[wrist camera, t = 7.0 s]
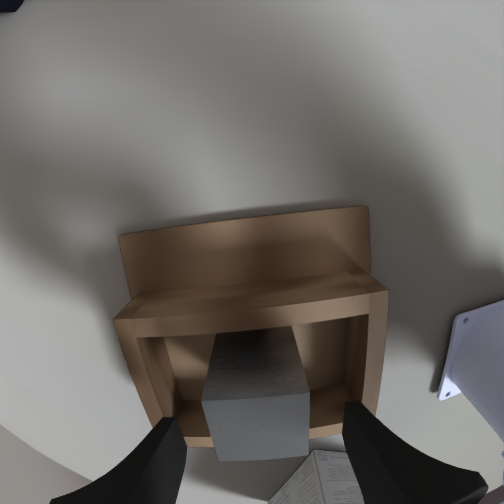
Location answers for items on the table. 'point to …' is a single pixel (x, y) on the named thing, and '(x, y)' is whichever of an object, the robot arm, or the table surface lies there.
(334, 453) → the light bulb box
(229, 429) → the steel block
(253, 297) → the walnut well
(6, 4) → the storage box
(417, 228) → the table surface
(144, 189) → the table surface
